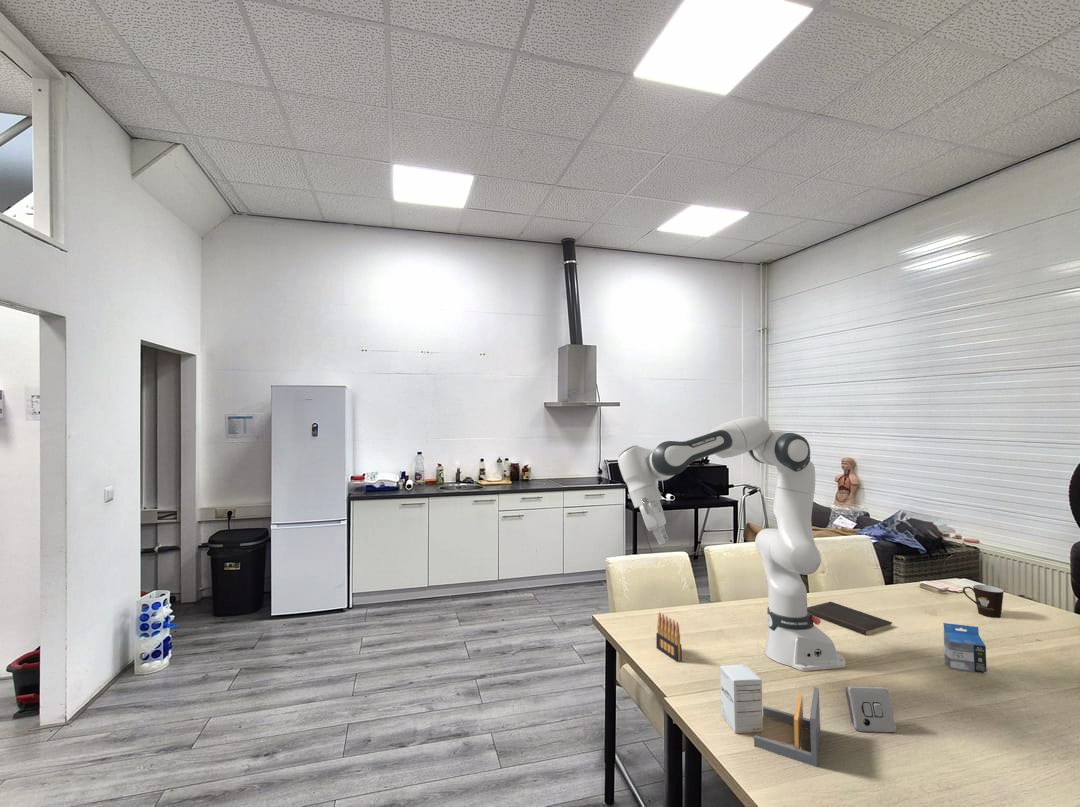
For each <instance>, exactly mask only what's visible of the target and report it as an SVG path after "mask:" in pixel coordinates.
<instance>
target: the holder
mask: <svg viewBox="0 0 1080 807" xmlns="http://www.w3.org/2000/svg"><path fill="white" fill-rule="evenodd" d="M820 709H821V708H820V688H819V687H817V686H816V687H815V686H814V687H813V694H812V700H811V707H810V716H809V718H807V717H804V716H803V729H806V730H809V731H810V751H807V750H804V749H801V748H800V749H798V748H795V746H791V745H788V744H785V743H781V742H778V741H775V740H772V739H769V738H766V737H762V736H759V735H757V734H754V736H753V743H754V744H753V746H754V748H755V747H756V748H759V749H761V748H762V749H761V750H764V749H765V751H767V750H768V751H769V752H770V751H771V753H774V754H776V753H777V754H776V755H781V756H783V757H786V758H788V759H792V760H795V761H798V762H801V763H804V764H808V765H810V766H813V767H815V768H816V767H818V760H819V759H818V758H819V749H820V748H819V746H820V737H821V719H820V718H821V715H820V714H821V712H820V711H821V710H820ZM794 715H795V713H794V714H793V713H789V712H786V711H784V710H780V709H776V708H773V707H769V706H765V705H762V716H763V717H766V718H769V719H772V720H776V721H779V722H782V721H783V722H782V723H785V722H786V724H789V725H793V726H794ZM768 751H767V752H768Z"/></svg>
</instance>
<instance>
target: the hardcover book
mask: <svg viewBox="0 0 1080 807" xmlns="http://www.w3.org/2000/svg"><path fill="white" fill-rule="evenodd" d="M807 612H809V613H810V614H812V615H813V616H816V617H817V618H819V619H820V620H823V621H826V622H829V623H831V624H834V625H836V626H839V627H841V628H845V629H847V630H850V631H852V632H854V633H857V634H861V635H863V636H865V637H866V636H868V635H870V634H871V635H872V634H874V633H877V632H880V631H883V630H886V629H889V628H891V627H892V624H893V622H892V621H889V620H886V619H884V618H883V619H882V618H881V617H878V616H874V615H871V614H868V613H865V612H863V611H860V610H858V609H854V608H851V607H848V606H844V605H842V604H839V603H836V602H832V601H827V602H824V603H819V604H815V605H812V606H807Z"/></svg>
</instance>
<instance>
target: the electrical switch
mask: <svg viewBox="0 0 1080 807" xmlns="http://www.w3.org/2000/svg"><path fill="white" fill-rule="evenodd" d="M844 689H845V695H846V700H847V706H848V712H849V717H850V723H851V724H852V725H853V727H854V729H855V730H856V731H858V732H874V733H875V732H879V733H880V732H881V733H896V731H897V728H896V727H897V726H896V723H895V716H894V712H893V707H892V702H891V697H890V692H889V690H888V689H887V688H885V687H884V686H883V687H881V686H880V687H878V686H848V687H844Z"/></svg>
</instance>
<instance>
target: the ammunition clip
mask: <svg viewBox="0 0 1080 807" xmlns="http://www.w3.org/2000/svg"><path fill="white" fill-rule="evenodd" d="M656 628H657V632H656V649H657V650H658V651H660V652H662V653H663V654H664V655H666V656H668V657H669V658H670V659H672V660H673V661H674V662H676V663H678V662H679V663H680V662H682V661H683V653H682V651H683V650H682V644H681V634H680V625H679V622H678V621H676V622H675V620H674V619H671V617H669V618H668V615H665V614H664V613H662V614H661V611H659V612H658V613H657V625H656Z"/></svg>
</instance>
